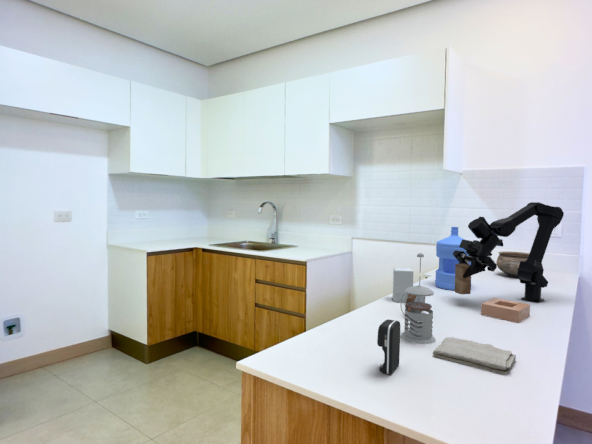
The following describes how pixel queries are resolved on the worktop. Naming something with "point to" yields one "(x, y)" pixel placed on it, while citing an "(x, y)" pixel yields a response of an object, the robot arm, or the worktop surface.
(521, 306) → the socket
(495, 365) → the washcloth
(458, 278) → the peg
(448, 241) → the water jug
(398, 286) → the supplement box
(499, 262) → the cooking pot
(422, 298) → the tin
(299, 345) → the worktop surface
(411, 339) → the french press
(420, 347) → the worktop surface
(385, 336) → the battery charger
